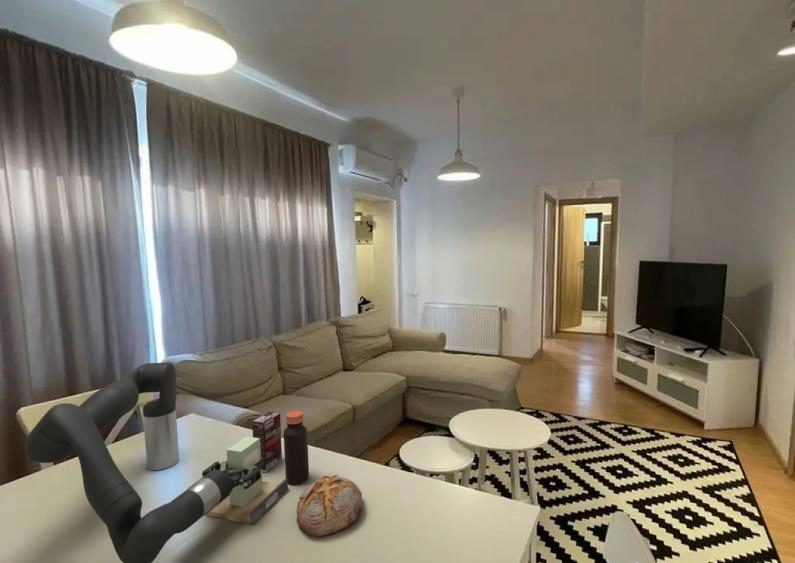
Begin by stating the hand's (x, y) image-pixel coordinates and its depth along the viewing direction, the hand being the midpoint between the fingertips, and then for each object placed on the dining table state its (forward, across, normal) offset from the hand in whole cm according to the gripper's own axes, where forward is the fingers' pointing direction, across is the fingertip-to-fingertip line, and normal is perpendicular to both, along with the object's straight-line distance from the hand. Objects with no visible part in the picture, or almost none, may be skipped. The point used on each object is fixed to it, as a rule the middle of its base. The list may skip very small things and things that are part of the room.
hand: (249, 460), depth 115 cm
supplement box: (+16, -6, -11) cm, 20 cm away
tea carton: (-2, 0, -9) cm, 9 cm away
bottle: (+11, +8, -11) cm, 17 cm away
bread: (-1, +25, -11) cm, 27 cm away
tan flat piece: (-2, 0, -10) cm, 11 cm away
